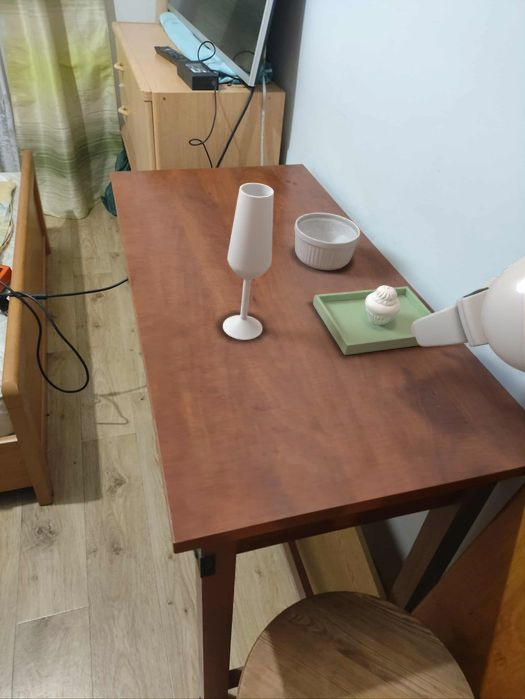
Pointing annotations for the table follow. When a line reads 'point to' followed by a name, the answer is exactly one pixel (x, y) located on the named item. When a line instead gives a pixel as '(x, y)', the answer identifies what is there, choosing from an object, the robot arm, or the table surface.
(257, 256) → the champagne flute
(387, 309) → the muffin
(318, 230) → the ramekin
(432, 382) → the table surface
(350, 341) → the tray
